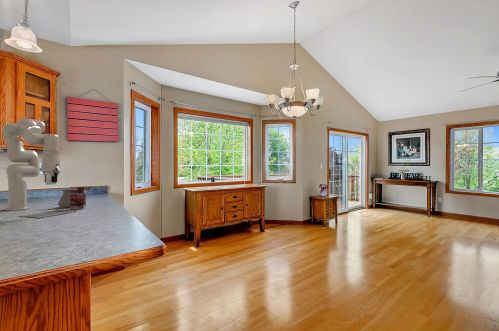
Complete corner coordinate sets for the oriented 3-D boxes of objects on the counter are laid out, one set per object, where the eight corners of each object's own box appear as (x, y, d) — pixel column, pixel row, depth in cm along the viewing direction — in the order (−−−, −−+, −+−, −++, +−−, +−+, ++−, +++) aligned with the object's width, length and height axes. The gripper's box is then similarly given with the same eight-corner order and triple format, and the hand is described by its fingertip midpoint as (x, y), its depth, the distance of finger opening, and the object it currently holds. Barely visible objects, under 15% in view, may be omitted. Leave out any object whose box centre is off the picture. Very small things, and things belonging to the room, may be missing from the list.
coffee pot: (56, 209, 173) (57, 187, 173) (58, 206, 183) (58, 186, 183) (92, 206, 185) (92, 186, 185) (92, 204, 194) (92, 185, 194)
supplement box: (69, 209, 170) (69, 187, 171) (72, 208, 175) (72, 186, 175) (83, 209, 173) (83, 186, 173) (86, 208, 177) (86, 186, 178)
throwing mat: (18, 216, 146) (18, 215, 146) (56, 210, 168) (56, 209, 168) (40, 218, 142) (40, 217, 142) (76, 211, 163) (76, 210, 163)
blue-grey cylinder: (43, 184, 152) (43, 171, 153) (52, 183, 157) (52, 171, 157) (49, 184, 151) (49, 171, 151) (57, 184, 156) (58, 171, 156)
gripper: (34, 153, 153) (34, 182, 153) (55, 153, 148) (54, 182, 148) (47, 154, 160) (47, 181, 160) (67, 153, 156) (67, 182, 156)
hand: (51, 182), depth 154 cm, fingers closed on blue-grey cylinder, 4 cm apart
